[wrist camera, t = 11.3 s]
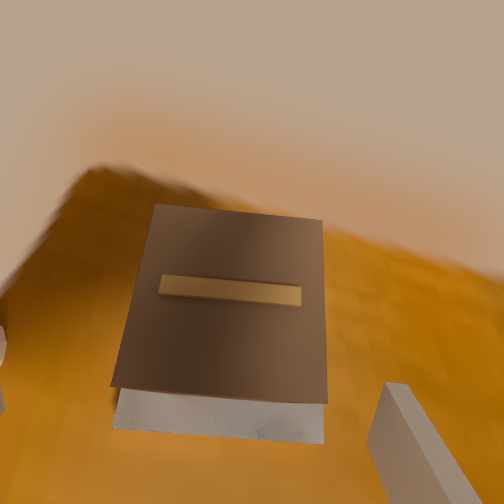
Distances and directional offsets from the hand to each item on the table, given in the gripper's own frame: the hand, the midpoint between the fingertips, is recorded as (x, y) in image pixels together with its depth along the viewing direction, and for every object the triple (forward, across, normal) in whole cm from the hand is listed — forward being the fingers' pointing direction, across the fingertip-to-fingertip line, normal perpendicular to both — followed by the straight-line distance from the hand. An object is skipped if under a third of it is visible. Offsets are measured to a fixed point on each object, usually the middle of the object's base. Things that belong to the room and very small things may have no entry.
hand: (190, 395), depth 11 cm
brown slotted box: (+8, +1, -4) cm, 9 cm away
